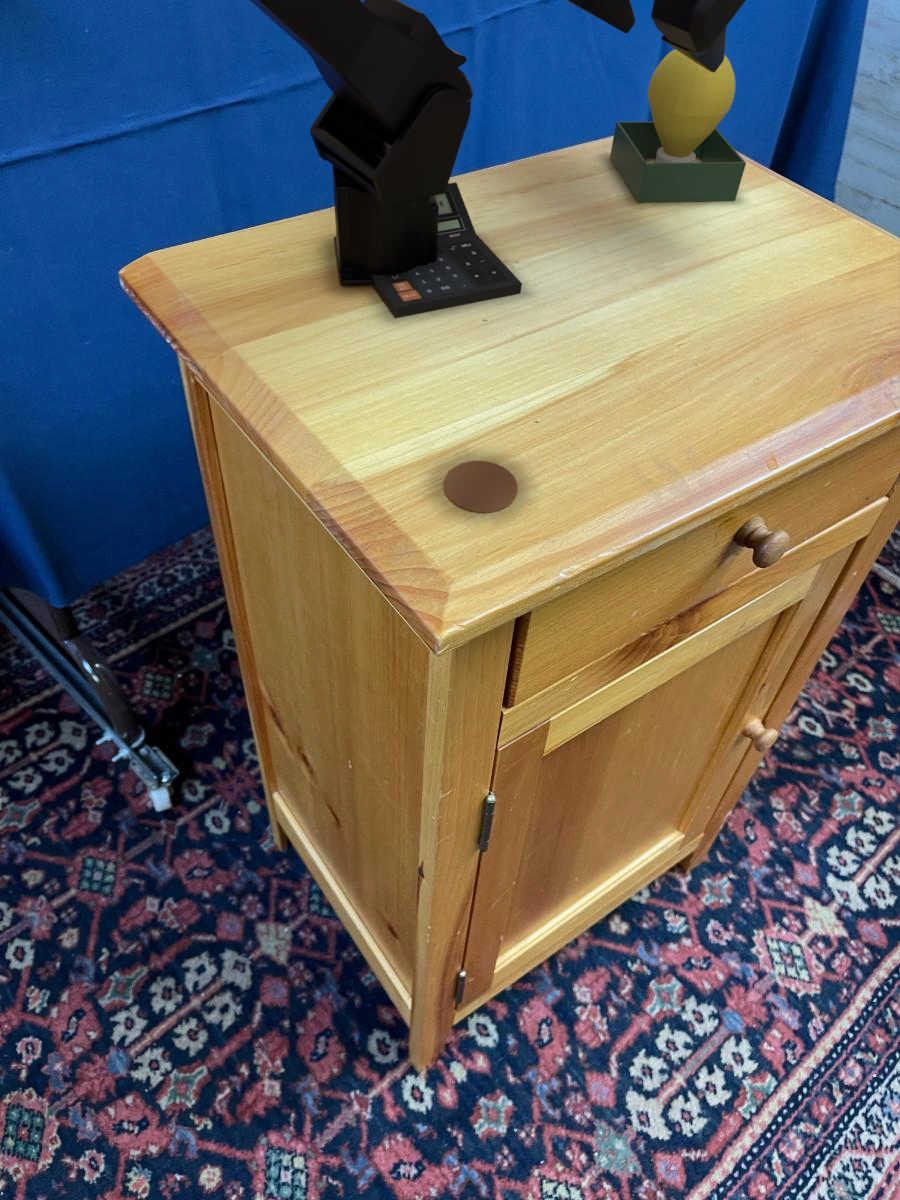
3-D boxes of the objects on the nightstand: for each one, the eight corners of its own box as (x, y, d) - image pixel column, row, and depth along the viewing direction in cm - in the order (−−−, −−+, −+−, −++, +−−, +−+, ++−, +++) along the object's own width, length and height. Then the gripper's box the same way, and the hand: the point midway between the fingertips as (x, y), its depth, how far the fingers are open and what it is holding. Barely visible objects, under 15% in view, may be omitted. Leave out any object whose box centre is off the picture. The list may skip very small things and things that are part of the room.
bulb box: (637, 202, 70) (645, 164, 68) (609, 158, 75) (616, 121, 73) (735, 200, 71) (746, 162, 69) (700, 157, 76) (710, 120, 74)
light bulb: (616, 167, 74) (641, 33, 67) (682, 157, 76) (713, 27, 69) (658, 201, 70) (689, 63, 63) (726, 190, 72) (764, 55, 65)
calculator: (395, 319, 57) (395, 277, 55) (337, 238, 64) (334, 197, 62) (520, 294, 60) (525, 253, 58) (452, 219, 67) (454, 180, 65)
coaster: (449, 515, 45) (449, 512, 45) (438, 465, 48) (438, 462, 48) (524, 509, 46) (524, 507, 46) (509, 460, 48) (509, 458, 48)
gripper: (803, -252, 44) (853, -22, 57) (570, -292, 54) (657, -87, 67) (658, -48, 47) (736, 128, 60) (461, -120, 57) (565, 45, 70)
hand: (672, 45), depth 64 cm, fingers open, 9 cm apart
